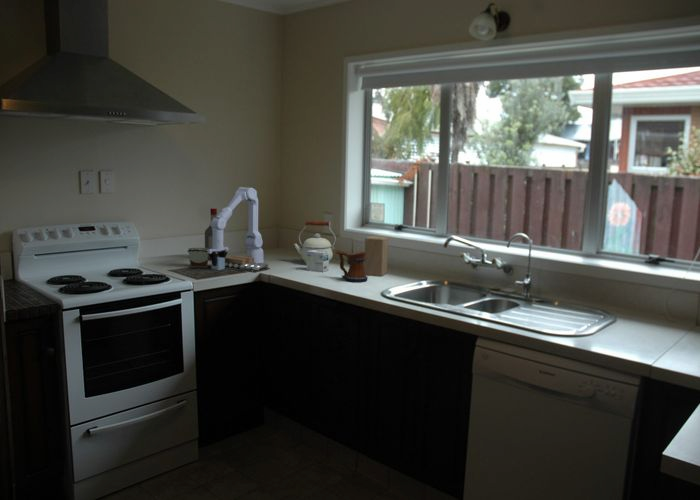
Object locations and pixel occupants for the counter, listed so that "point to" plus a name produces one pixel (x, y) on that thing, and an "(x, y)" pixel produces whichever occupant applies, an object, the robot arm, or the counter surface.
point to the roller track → (247, 267)
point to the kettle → (315, 242)
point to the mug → (353, 266)
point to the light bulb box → (318, 260)
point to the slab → (239, 260)
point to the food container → (198, 257)
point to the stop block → (219, 264)
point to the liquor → (210, 232)
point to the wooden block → (376, 255)
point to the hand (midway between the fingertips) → (217, 265)
